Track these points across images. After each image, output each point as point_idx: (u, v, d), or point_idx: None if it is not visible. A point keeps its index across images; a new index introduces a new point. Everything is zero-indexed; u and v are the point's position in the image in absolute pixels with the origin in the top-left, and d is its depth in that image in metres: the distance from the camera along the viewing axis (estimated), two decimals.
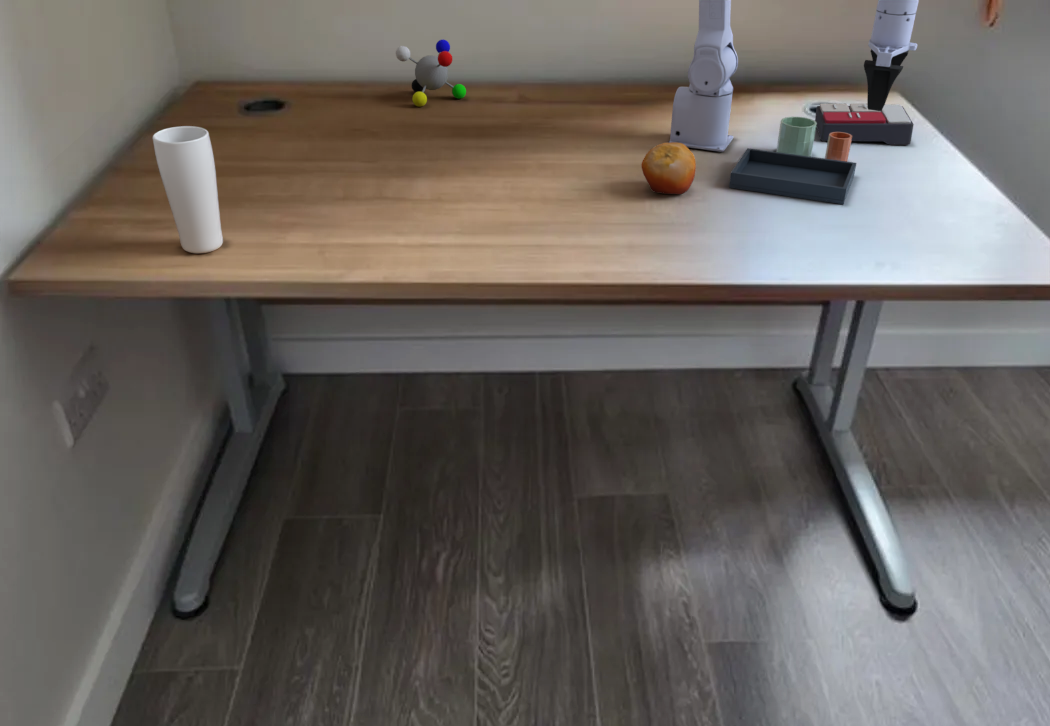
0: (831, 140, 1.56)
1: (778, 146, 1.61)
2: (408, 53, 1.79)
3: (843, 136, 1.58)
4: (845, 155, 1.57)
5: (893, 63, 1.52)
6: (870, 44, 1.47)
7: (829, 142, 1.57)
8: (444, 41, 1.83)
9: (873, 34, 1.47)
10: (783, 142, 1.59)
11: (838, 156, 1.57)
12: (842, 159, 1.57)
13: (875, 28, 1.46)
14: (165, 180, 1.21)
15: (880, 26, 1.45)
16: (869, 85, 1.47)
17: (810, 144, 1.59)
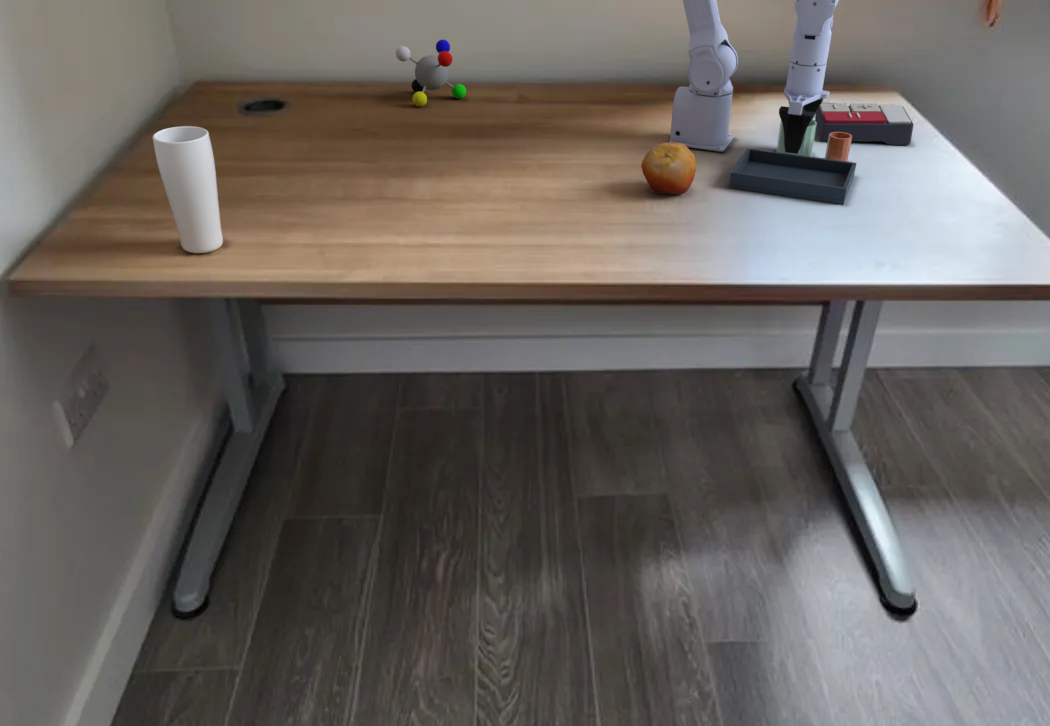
0: (831, 140, 1.56)
1: (778, 146, 1.61)
2: (408, 53, 1.79)
3: (843, 136, 1.58)
4: (845, 155, 1.57)
5: (809, 110, 1.60)
6: (785, 92, 1.55)
7: (829, 142, 1.57)
8: (444, 41, 1.83)
9: (787, 83, 1.55)
10: (783, 142, 1.59)
11: (838, 156, 1.57)
12: (842, 159, 1.57)
13: (789, 77, 1.54)
14: (165, 180, 1.21)
15: (793, 75, 1.53)
16: (785, 130, 1.56)
17: (810, 144, 1.59)
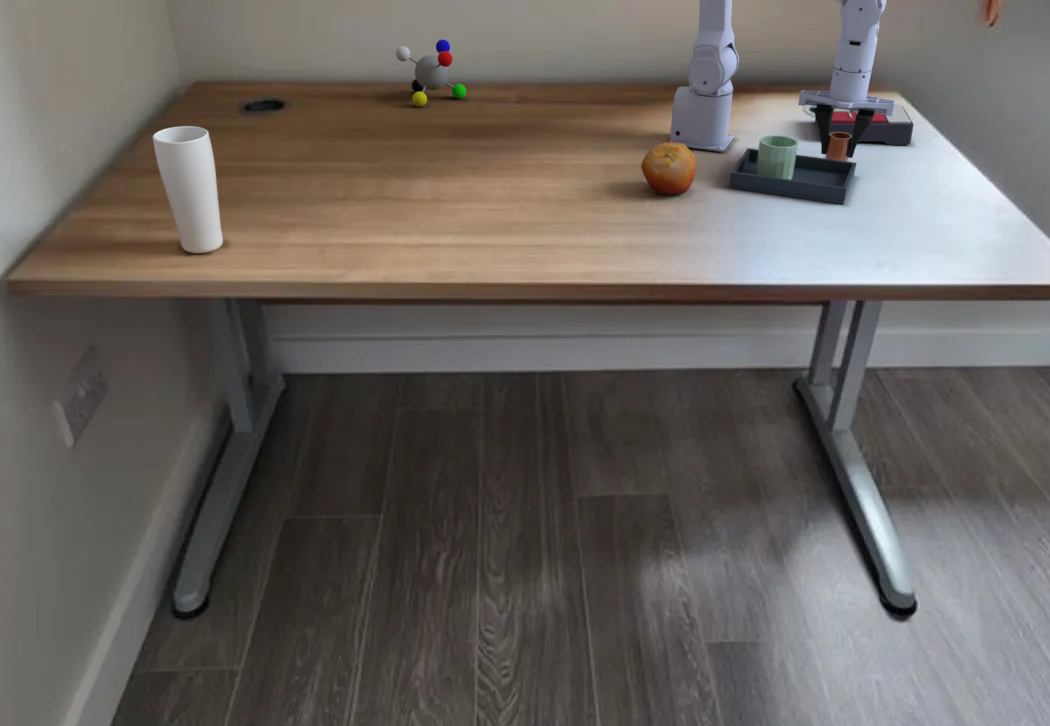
0: (831, 140, 1.56)
1: (757, 167, 1.51)
2: (408, 53, 1.79)
3: (843, 136, 1.58)
4: (845, 155, 1.57)
5: None
6: None
7: (829, 142, 1.57)
8: (444, 41, 1.83)
9: None
10: (762, 163, 1.49)
11: (838, 156, 1.57)
12: (842, 159, 1.57)
13: None
14: (165, 180, 1.21)
15: None
16: None
17: (791, 165, 1.49)
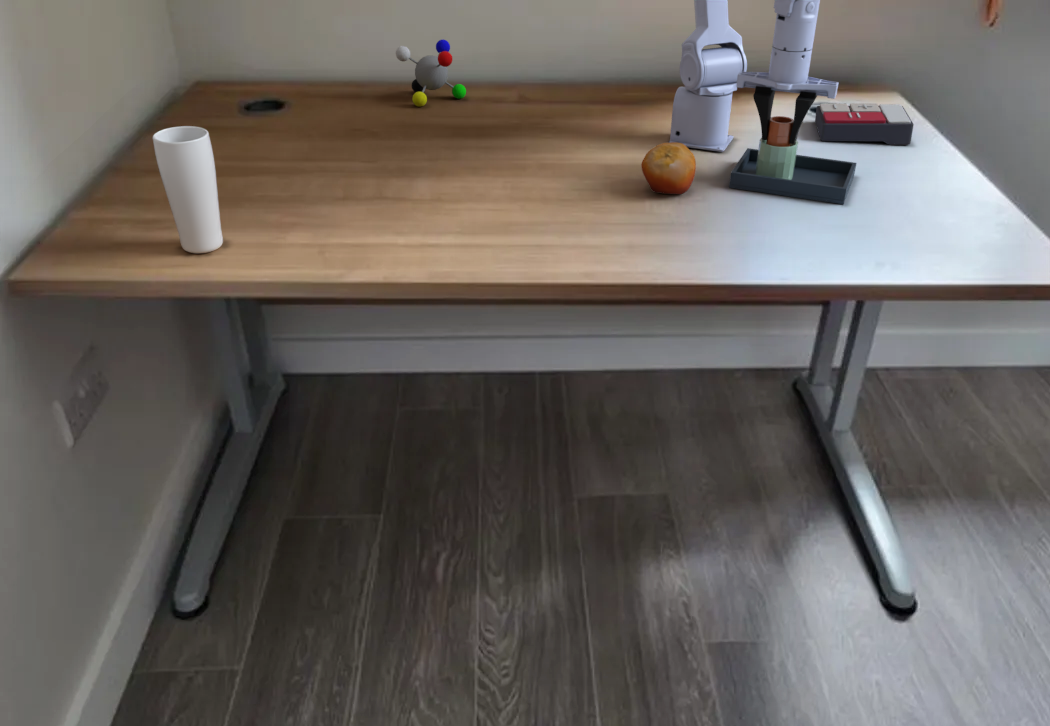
0: (771, 125, 1.46)
1: (757, 167, 1.51)
2: (408, 53, 1.79)
3: (785, 121, 1.48)
4: (787, 141, 1.47)
5: None
6: None
7: (769, 127, 1.47)
8: (444, 41, 1.83)
9: None
10: (762, 163, 1.49)
11: (779, 141, 1.47)
12: (783, 145, 1.47)
13: None
14: (165, 180, 1.21)
15: None
16: None
17: (791, 165, 1.49)
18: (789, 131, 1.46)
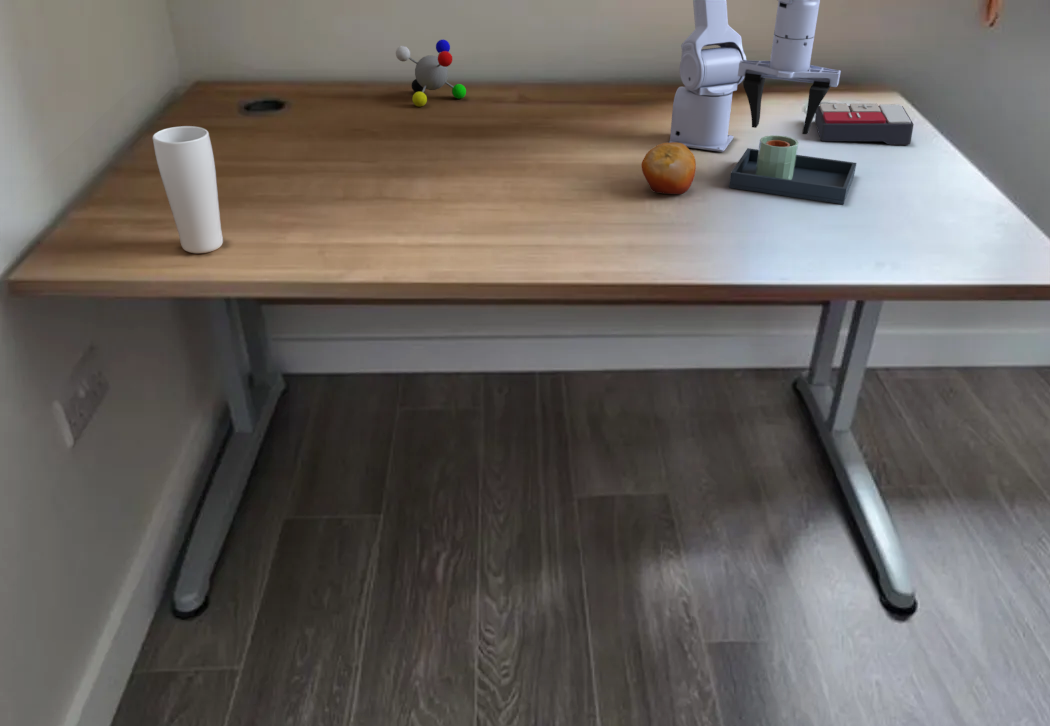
0: None
1: (757, 167, 1.51)
2: (408, 53, 1.79)
3: (781, 145, 1.50)
4: None
5: None
6: None
7: None
8: (444, 41, 1.83)
9: None
10: (762, 163, 1.49)
11: None
12: None
13: None
14: (165, 180, 1.21)
15: None
16: None
17: (791, 165, 1.49)
18: None
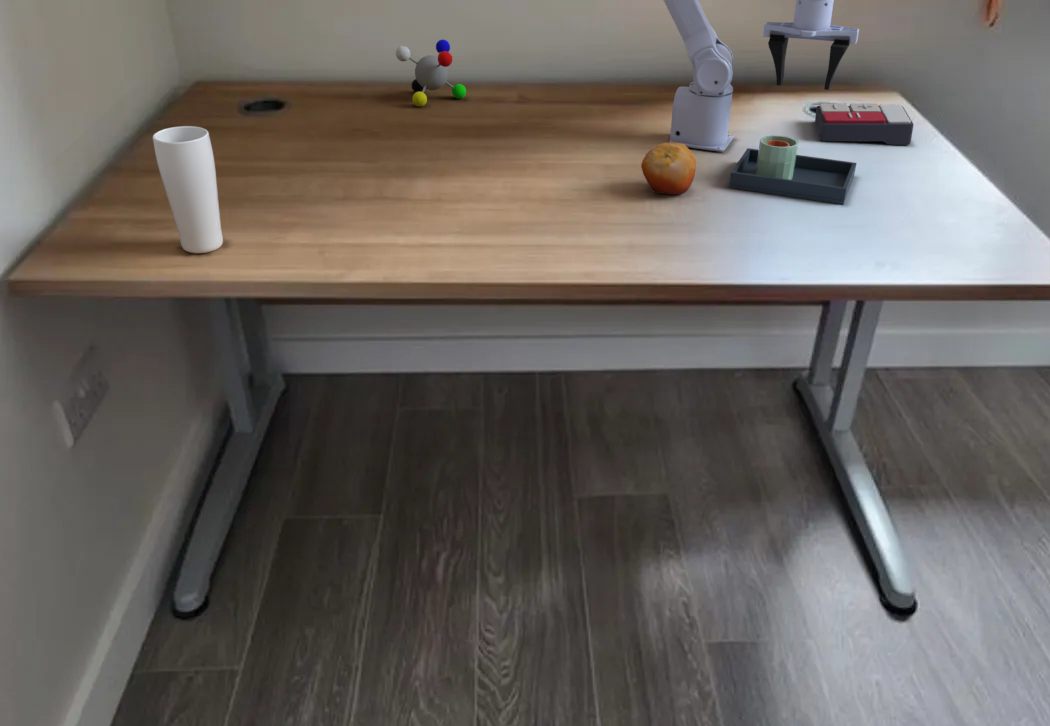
0: None
1: (757, 167, 1.51)
2: (408, 53, 1.79)
3: (781, 145, 1.50)
4: None
5: None
6: None
7: None
8: (444, 41, 1.83)
9: None
10: (762, 163, 1.49)
11: None
12: None
13: None
14: (165, 180, 1.21)
15: None
16: None
17: (791, 165, 1.49)
18: None
